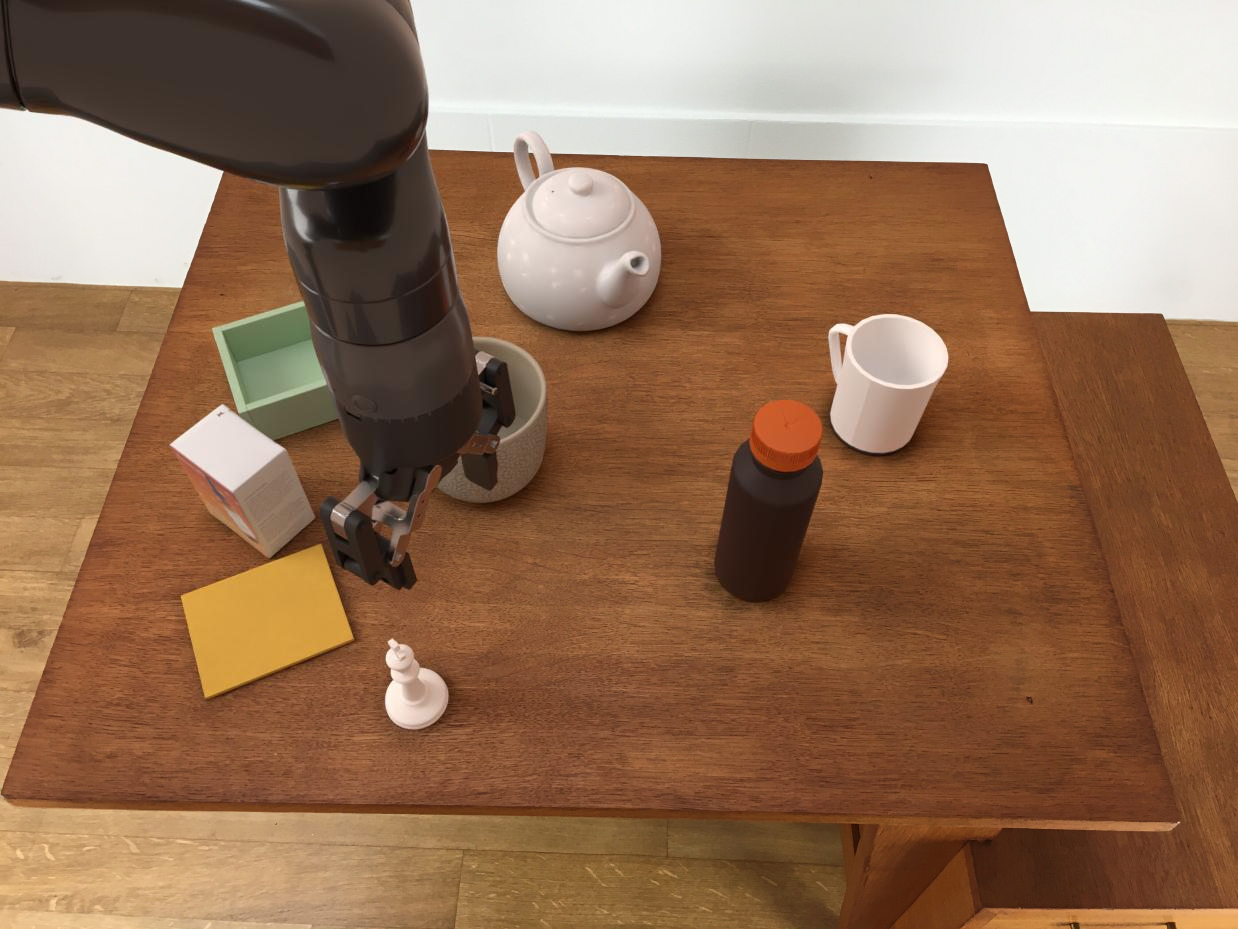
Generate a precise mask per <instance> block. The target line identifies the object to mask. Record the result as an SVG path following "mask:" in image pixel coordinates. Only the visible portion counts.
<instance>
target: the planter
mask: <svg viewBox="0 0 1238 929" xmlns="http://www.w3.org/2000/svg"><path fill="white" fill-rule="evenodd" d="M472 339H473V345H474V348H476V349H478V350H480V351H483V352H485V353H487V354H489V355H491V356H493V357H495V358H497V359H499V360H502V361H504V362H506V363H507V368H508V373H509V379H510V384H511V390H512V395H513V401H514V406H515V412H516V416H515V419H514V421H513V423H512V424H511V426H510V427H508V428H506V427H504V426H502V427H501V429H500V430H499V432H498V434H497V436H499V437H500V443H499V446H498V448H497V449H496V454H497V461H498V471H497V478H498V483H497V484H496V485H495V487H494V488H493V489H492V490H491V491H488V490H486V489H484V488H482V487H480V486H478V485H477V484H475V483H473V482H471V481H469V480H468V479H467V478H466V477H465V474H464V470H463V465H462V460H461V455H460V456H459V458H458V464H457V465H456V466H455V467H454V468H453V470H452V471H451V472H450V473H449V474H447V475H446V476H445V477H444V478H443V479H442V480H441V481H440V483H439V484H438V486H437V487H436V489H438V490H440V491H441V492H442V493H444V494H445V495H447V496H448V497H451V498H453V499H455V500H459V501H461V502H462V501H463V502H466V503H472V504H473V503H474V504H486V503H488V504H489V503H493V502H498V501H501V500H505V499H507V498H509V497H511V496H513V495H515V494H517V493H518V492H520V491H521V490H522V489H524V488H525V487H526V486H527V485H528V484H529V483H530V482H531V481H532V480H533V479H534V477H535V476H536V474H537V472H538V471H539V470H540V466H541V465H542V462H543V460H544V455H545V449H546V443H547V432H548V431H547V430H548V411H549V410H548V405H549V404H548V387H547V380H546V376H545V374H544V371H543V369H542V367H541V365H540V364H539V362H538V361H537V360H536V359H535V357H533V356H532V355H531V354H530V353H529V352H528V351H527V350H525V349H523V348H522V347H520V346H518V345H517V344H515V343H513V342H511V341H507V340H504V339H502V338H501V339H500V338H497V337H490V336H472Z"/></svg>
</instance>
